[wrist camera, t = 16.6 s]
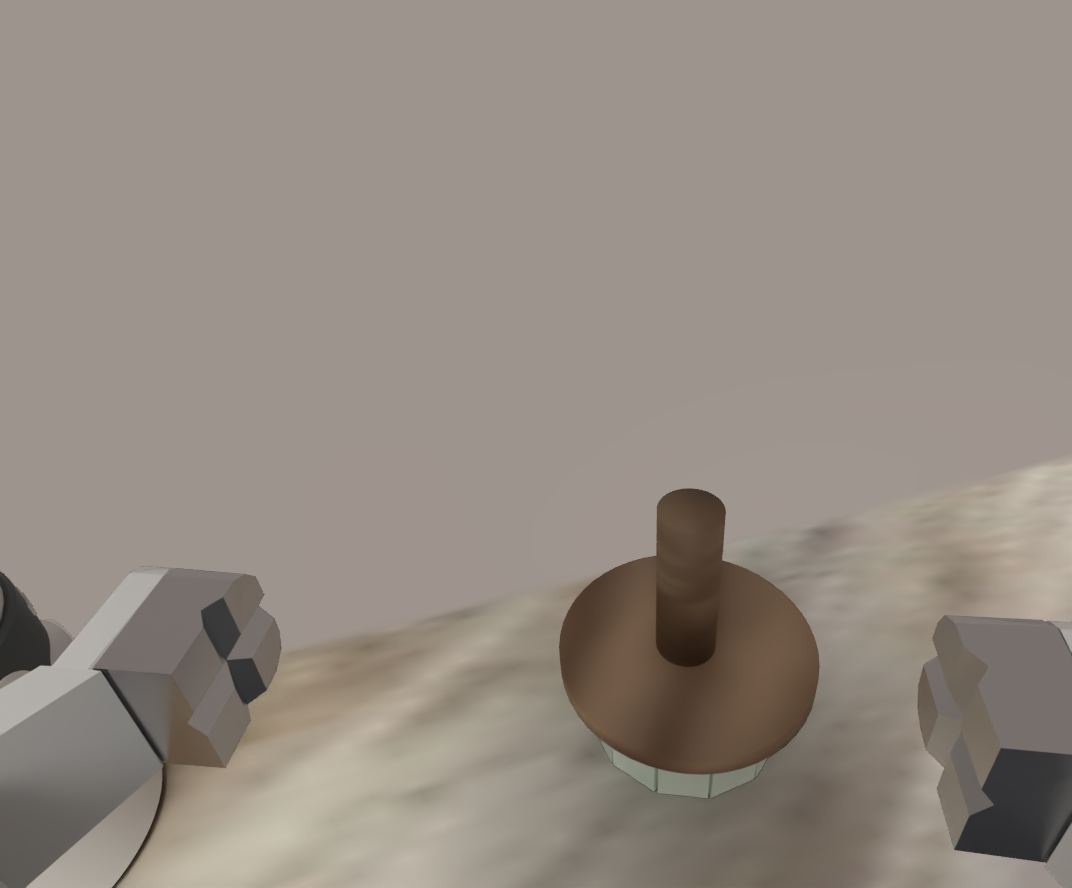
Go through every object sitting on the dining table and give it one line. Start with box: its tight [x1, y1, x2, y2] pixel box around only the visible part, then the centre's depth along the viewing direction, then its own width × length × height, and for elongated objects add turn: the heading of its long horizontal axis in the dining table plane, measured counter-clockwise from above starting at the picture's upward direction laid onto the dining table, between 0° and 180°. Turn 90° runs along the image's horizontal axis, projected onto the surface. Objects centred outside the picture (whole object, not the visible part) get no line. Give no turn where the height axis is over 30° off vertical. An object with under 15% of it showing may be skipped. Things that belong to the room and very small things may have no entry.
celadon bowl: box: [600, 739, 768, 798], centre depth 41 cm, size 10×10×4 cm
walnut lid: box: [559, 489, 819, 775], centre depth 37 cm, size 13×13×10 cm
